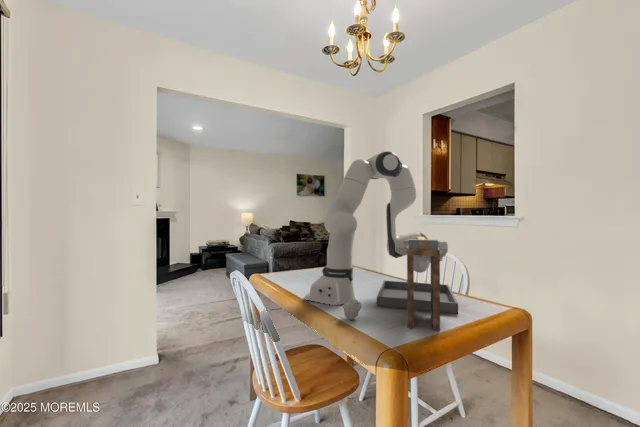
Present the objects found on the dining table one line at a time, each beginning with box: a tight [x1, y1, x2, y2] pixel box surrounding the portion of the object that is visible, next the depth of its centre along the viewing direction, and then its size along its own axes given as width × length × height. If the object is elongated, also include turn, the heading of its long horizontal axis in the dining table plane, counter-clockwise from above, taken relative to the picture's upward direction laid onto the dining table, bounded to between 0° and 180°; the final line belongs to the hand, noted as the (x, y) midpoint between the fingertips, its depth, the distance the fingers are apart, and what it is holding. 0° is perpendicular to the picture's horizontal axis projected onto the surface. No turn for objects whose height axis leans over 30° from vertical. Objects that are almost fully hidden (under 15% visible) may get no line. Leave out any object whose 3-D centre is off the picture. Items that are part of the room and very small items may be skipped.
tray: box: [376, 280, 459, 315], centre depth 126 cm, size 30×30×4 cm
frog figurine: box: [341, 299, 363, 321], centre depth 102 cm, size 6×7×7 cm
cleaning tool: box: [409, 237, 439, 250], centre depth 104 cm, size 9×22×3 cm, turn 162°
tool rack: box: [406, 245, 441, 332], centre depth 98 cm, size 10×12×26 cm
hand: (421, 239), depth 111 cm, fingers closed on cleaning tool, 2 cm apart
